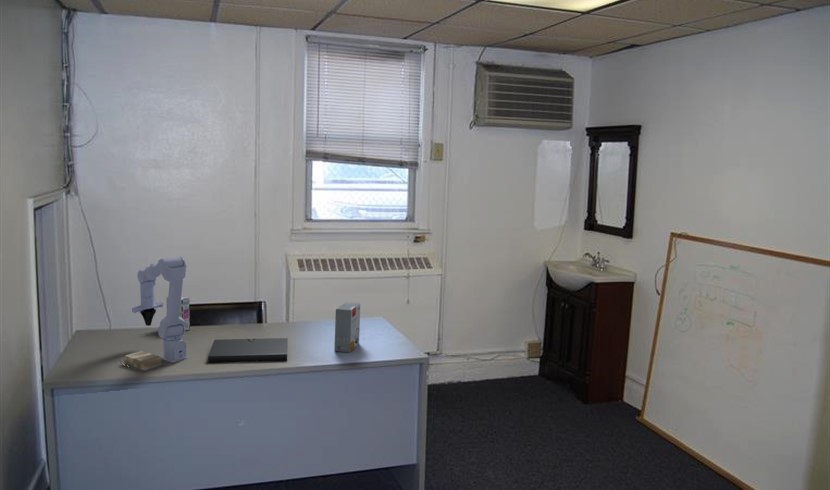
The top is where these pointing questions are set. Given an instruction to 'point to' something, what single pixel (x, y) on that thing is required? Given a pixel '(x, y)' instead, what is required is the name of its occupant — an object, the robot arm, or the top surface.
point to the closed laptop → (248, 350)
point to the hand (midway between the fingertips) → (148, 325)
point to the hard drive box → (347, 327)
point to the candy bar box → (184, 311)
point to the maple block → (143, 360)
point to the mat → (143, 370)
